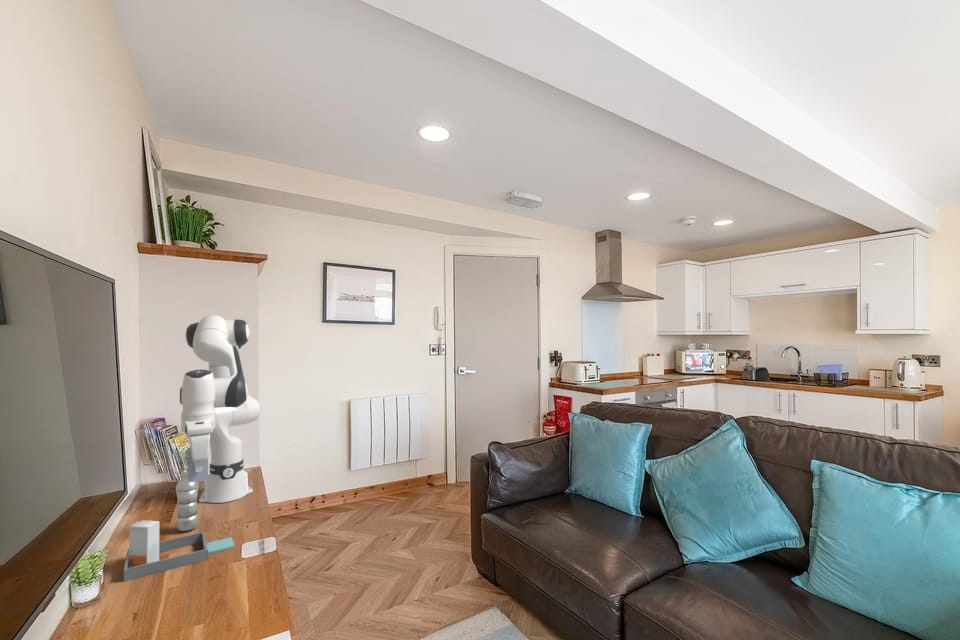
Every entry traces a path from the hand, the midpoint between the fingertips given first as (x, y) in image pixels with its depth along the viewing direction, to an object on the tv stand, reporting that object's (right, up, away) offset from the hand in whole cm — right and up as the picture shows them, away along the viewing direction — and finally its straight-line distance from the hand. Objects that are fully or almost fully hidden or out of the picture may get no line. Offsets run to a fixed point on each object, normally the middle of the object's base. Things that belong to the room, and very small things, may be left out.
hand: (198, 469), depth 135 cm
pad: (+5, -25, +3) cm, 26 cm away
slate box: (0, -3, 0) cm, 3 cm away
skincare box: (-10, -25, -8) cm, 28 cm away
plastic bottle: (-13, -26, +15) cm, 32 cm away
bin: (-6, -25, -5) cm, 26 cm away
